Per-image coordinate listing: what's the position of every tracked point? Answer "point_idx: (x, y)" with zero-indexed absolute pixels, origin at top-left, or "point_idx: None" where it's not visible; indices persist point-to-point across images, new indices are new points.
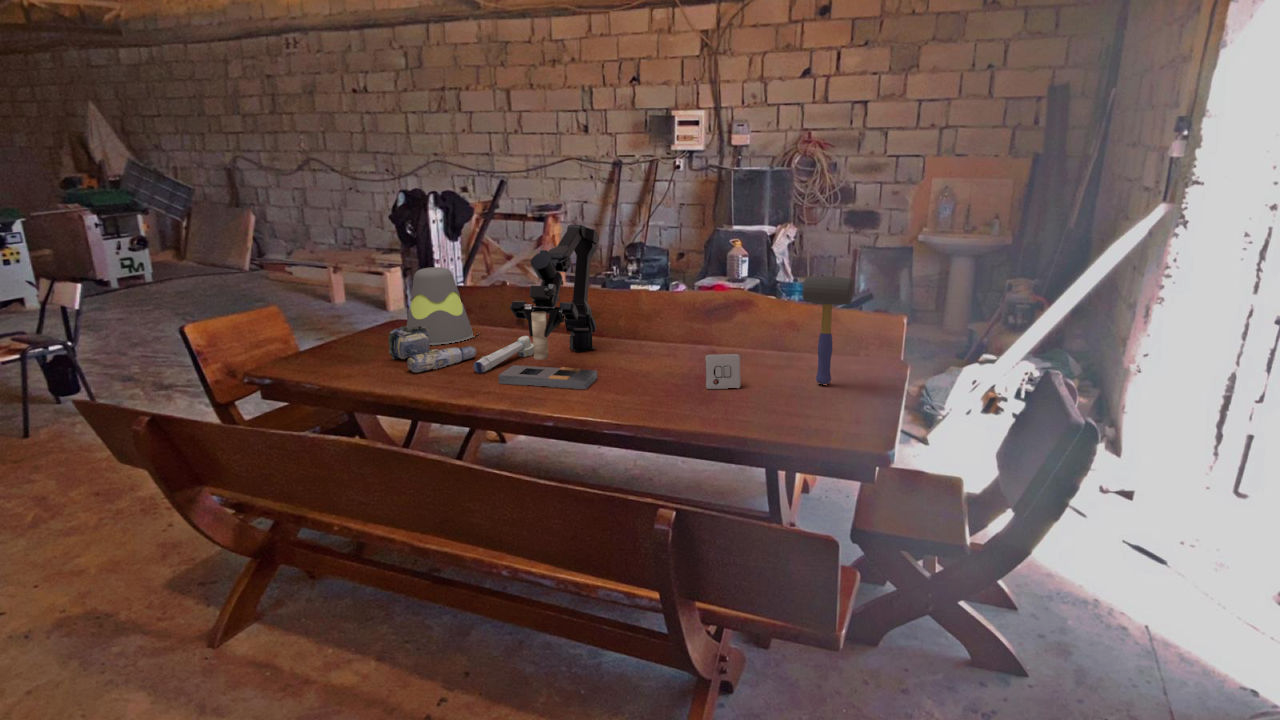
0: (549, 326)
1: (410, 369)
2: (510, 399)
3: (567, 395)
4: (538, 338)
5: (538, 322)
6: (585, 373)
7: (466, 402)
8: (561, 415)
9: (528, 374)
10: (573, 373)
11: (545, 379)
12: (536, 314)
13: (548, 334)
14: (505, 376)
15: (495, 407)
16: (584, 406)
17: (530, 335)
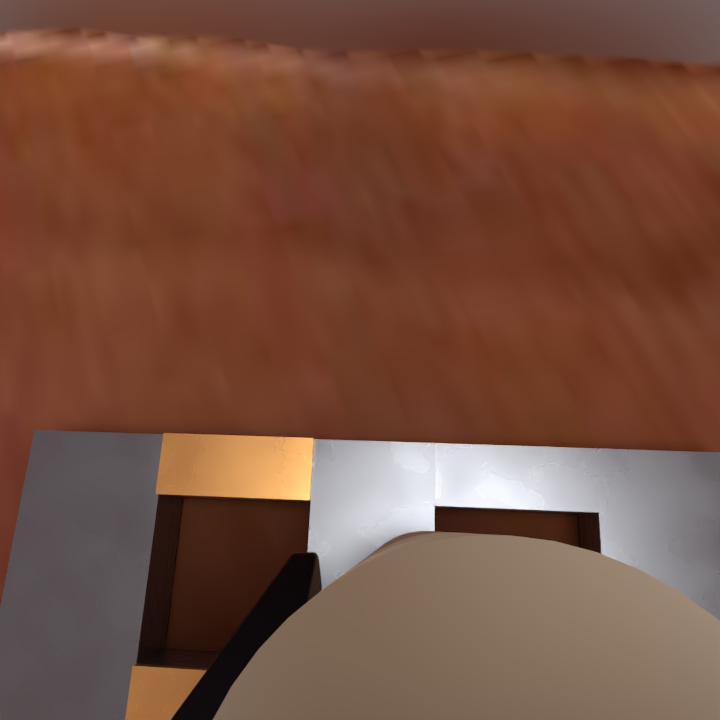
0: (199, 684)
1: None
2: (472, 193)
3: (160, 318)
4: (419, 533)
5: (405, 542)
6: (59, 617)
7: (699, 103)
8: (123, 50)
9: None
10: (176, 661)
11: (339, 440)
12: (472, 542)
13: None
14: (679, 451)
15: (494, 72)
16: (32, 176)
17: None
